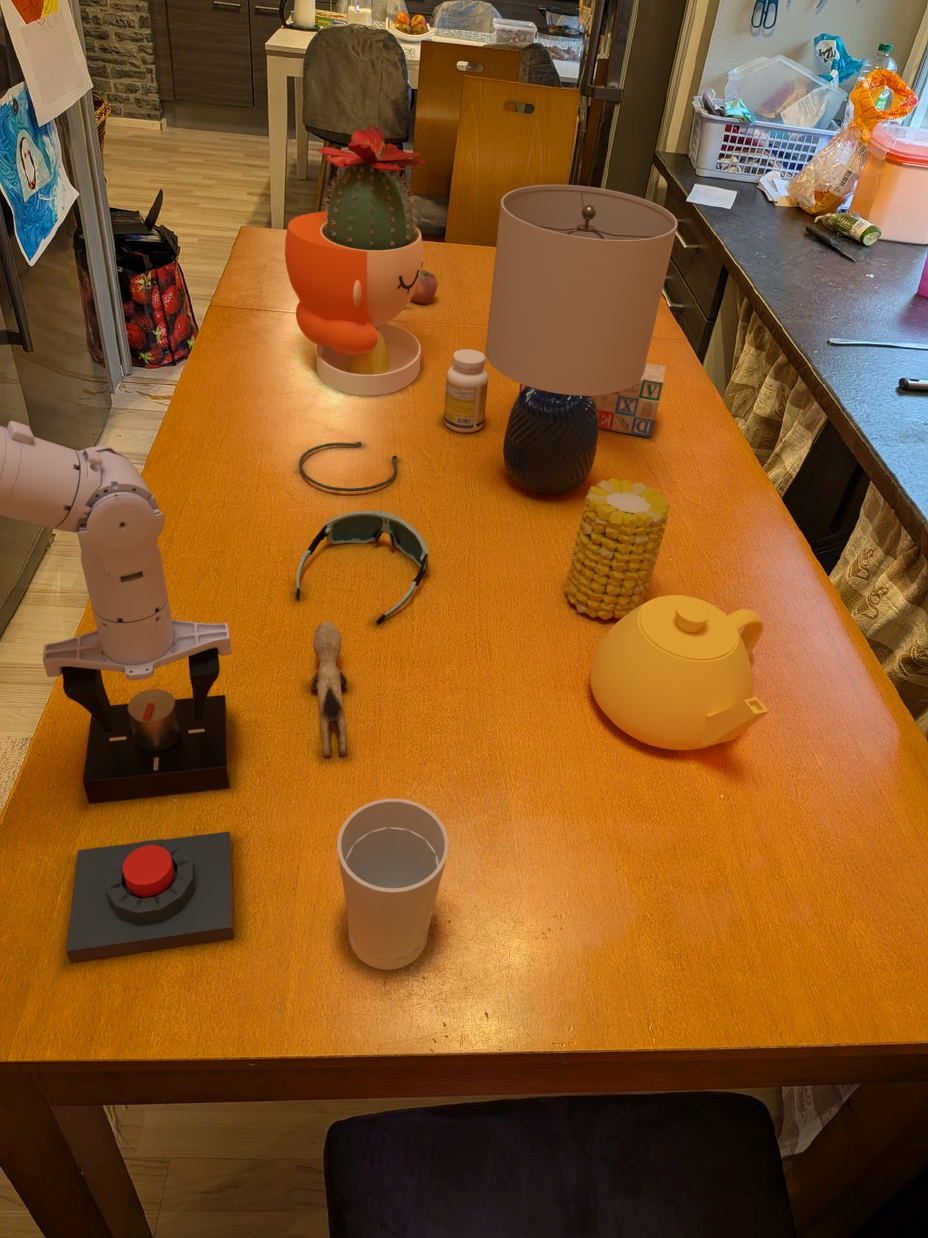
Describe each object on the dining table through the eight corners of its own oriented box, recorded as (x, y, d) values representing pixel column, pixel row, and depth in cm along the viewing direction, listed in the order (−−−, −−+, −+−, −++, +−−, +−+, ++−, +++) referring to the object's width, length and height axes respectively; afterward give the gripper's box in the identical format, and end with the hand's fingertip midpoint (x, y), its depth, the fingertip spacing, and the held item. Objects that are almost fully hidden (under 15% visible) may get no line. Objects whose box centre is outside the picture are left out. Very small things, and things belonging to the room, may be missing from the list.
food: (554, 619, 106) (585, 579, 113) (651, 638, 100) (677, 594, 108) (548, 501, 98) (582, 466, 105) (653, 514, 92) (681, 476, 100)
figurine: (353, 765, 87) (342, 639, 96) (354, 743, 83) (342, 614, 92) (315, 769, 86) (307, 641, 95) (314, 746, 83) (306, 616, 91)
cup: (347, 990, 68) (347, 902, 60) (330, 899, 74) (328, 807, 66) (449, 968, 70) (461, 880, 62) (425, 880, 76) (433, 790, 68)
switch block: (70, 963, 68) (60, 938, 65) (82, 862, 74) (73, 836, 72) (233, 938, 70) (229, 914, 68) (231, 843, 77) (227, 818, 75)
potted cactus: (427, 345, 157) (440, 123, 135) (408, 403, 140) (419, 160, 118) (307, 330, 158) (299, 106, 135) (273, 386, 141) (258, 141, 118)
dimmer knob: (140, 718, 83) (133, 685, 80) (185, 720, 83) (179, 687, 80) (129, 751, 80) (121, 718, 77) (175, 753, 80) (168, 720, 77)
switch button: (124, 900, 68) (120, 888, 67) (127, 861, 71) (124, 848, 70) (173, 894, 69) (170, 881, 68) (174, 855, 72) (172, 842, 71)
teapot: (557, 667, 97) (577, 574, 89) (700, 631, 104) (730, 541, 95) (659, 808, 84) (693, 714, 75) (815, 756, 90) (862, 664, 82)
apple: (400, 306, 170) (401, 275, 166) (410, 292, 176) (412, 261, 172) (430, 312, 169) (432, 280, 165) (440, 297, 175) (442, 266, 171)
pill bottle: (469, 411, 140) (475, 343, 133) (491, 429, 136) (499, 360, 129) (435, 419, 137) (440, 350, 130) (456, 437, 134) (463, 367, 126)
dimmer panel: (89, 804, 79) (82, 781, 77) (97, 728, 85) (91, 705, 83) (229, 788, 81) (226, 765, 79) (227, 716, 88) (224, 693, 86)
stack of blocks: (653, 420, 143) (671, 347, 135) (650, 439, 138) (668, 363, 130) (522, 396, 146) (532, 322, 138) (515, 413, 141) (525, 338, 133)
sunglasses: (442, 557, 110) (442, 526, 107) (394, 641, 101) (393, 611, 97) (338, 527, 113) (335, 496, 110) (281, 606, 104) (276, 576, 100)
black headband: (415, 467, 126) (416, 461, 125) (355, 507, 117) (355, 501, 116) (341, 435, 131) (341, 429, 130) (278, 470, 122) (278, 464, 121)
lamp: (470, 515, 118) (501, 223, 94) (473, 439, 134) (501, 172, 110) (622, 528, 119) (692, 242, 95) (608, 451, 134) (665, 188, 110)
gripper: (26, 644, 66) (64, 764, 75) (228, 621, 70) (241, 738, 79) (33, 585, 71) (67, 704, 80) (221, 567, 75) (234, 682, 84)
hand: (154, 717), depth 80 cm, fingers open, 7 cm apart
